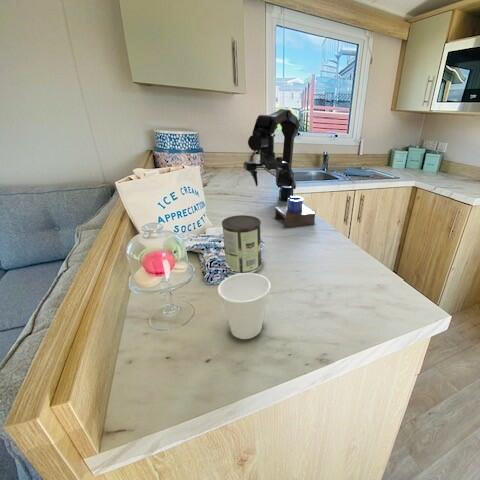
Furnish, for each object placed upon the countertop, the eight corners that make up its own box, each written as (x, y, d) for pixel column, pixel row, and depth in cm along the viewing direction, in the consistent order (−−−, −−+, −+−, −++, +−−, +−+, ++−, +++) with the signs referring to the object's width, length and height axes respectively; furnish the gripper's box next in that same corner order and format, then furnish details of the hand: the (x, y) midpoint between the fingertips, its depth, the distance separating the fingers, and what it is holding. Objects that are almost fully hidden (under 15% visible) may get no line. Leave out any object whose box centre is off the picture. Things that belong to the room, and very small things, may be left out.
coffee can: (241, 254, 87) (239, 212, 81) (268, 263, 83) (268, 219, 77) (217, 268, 78) (213, 222, 72) (246, 279, 75) (244, 231, 69)
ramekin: (298, 207, 119) (299, 195, 117) (305, 211, 114) (305, 200, 112) (284, 208, 116) (285, 196, 114) (290, 213, 111) (291, 201, 109)
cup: (227, 313, 62) (224, 272, 57) (272, 314, 63) (272, 272, 58) (216, 348, 53) (211, 301, 48) (268, 347, 54) (268, 302, 49)
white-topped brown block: (302, 215, 125) (302, 204, 123) (314, 224, 115) (315, 213, 113) (275, 218, 119) (275, 207, 117) (285, 228, 109) (285, 216, 107)
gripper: (249, 151, 103) (251, 191, 110) (295, 151, 112) (293, 189, 118) (242, 147, 112) (243, 185, 119) (285, 147, 121) (284, 183, 127)
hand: (267, 185), depth 120 cm, fingers open, 9 cm apart
